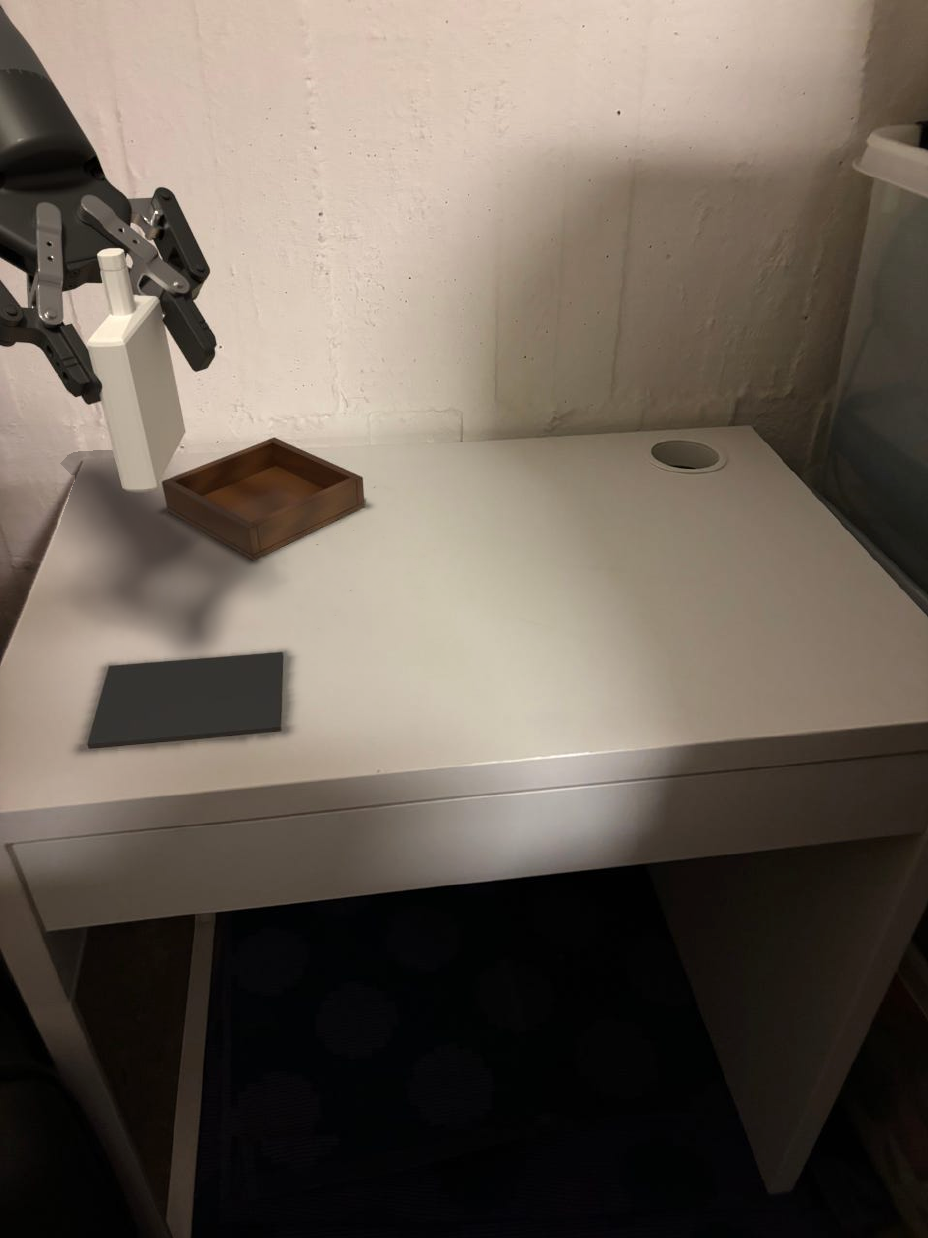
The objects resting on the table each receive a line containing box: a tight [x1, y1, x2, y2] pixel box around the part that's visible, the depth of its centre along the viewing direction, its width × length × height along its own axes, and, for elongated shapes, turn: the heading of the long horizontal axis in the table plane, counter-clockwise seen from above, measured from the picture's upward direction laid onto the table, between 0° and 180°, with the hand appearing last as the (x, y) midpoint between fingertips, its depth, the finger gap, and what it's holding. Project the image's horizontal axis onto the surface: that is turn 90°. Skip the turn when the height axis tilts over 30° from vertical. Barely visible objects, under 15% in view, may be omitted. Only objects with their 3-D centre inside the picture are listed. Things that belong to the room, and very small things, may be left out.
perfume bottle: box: [86, 248, 186, 493], centre depth 52 cm, size 8×2×12 cm, turn 2°
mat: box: [87, 651, 284, 749], centre depth 62 cm, size 12×8×1 cm, turn 98°
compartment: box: [161, 436, 366, 561], centre depth 83 cm, size 13×13×3 cm
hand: (154, 378), depth 51 cm, fingers closed on perfume bottle, 6 cm apart
